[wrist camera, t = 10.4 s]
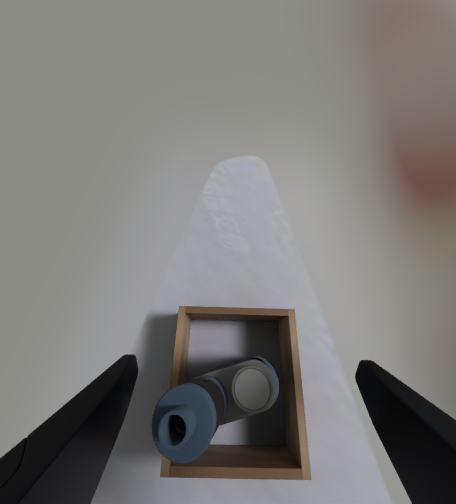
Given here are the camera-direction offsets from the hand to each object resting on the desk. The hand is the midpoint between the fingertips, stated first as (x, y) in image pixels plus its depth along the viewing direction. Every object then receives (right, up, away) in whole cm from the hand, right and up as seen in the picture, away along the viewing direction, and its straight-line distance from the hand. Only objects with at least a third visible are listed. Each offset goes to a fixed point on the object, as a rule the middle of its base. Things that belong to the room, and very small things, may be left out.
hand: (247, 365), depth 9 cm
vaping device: (0, -6, +9) cm, 11 cm away
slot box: (0, -6, +10) cm, 11 cm away
